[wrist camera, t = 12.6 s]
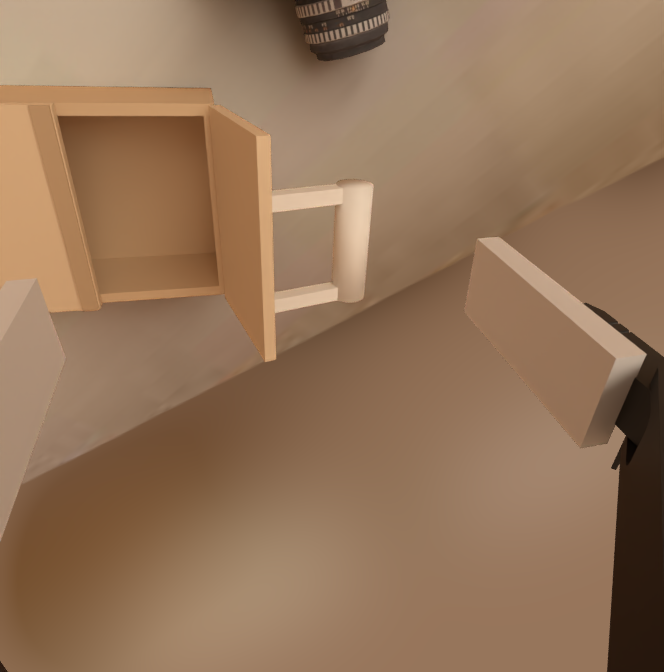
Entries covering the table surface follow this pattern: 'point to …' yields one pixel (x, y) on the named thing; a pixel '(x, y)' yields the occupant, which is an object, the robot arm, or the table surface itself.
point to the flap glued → (42, 211)
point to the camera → (342, 26)
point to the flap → (257, 229)
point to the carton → (141, 185)
